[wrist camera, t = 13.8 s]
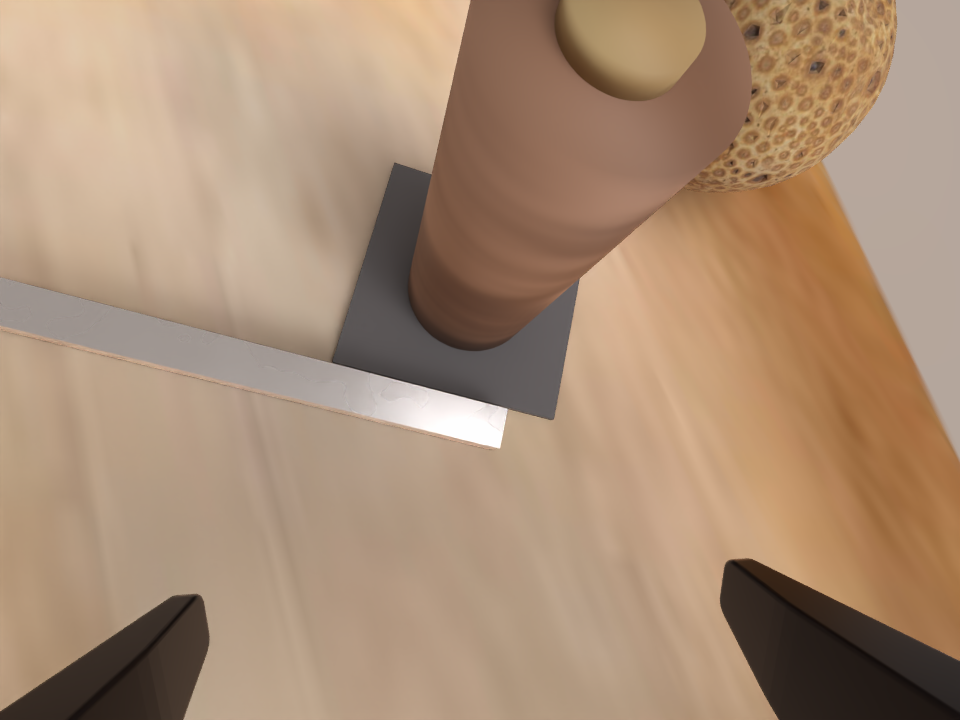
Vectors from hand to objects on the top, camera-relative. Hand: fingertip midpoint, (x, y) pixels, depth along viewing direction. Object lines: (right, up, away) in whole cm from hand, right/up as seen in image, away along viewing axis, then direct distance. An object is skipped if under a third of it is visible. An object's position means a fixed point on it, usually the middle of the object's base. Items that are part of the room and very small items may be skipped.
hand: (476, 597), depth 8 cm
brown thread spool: (0, +7, +12) cm, 14 cm away
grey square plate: (0, +7, +12) cm, 14 cm away
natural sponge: (+9, +14, +16) cm, 23 cm away
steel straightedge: (-8, +4, +10) cm, 13 cm away
